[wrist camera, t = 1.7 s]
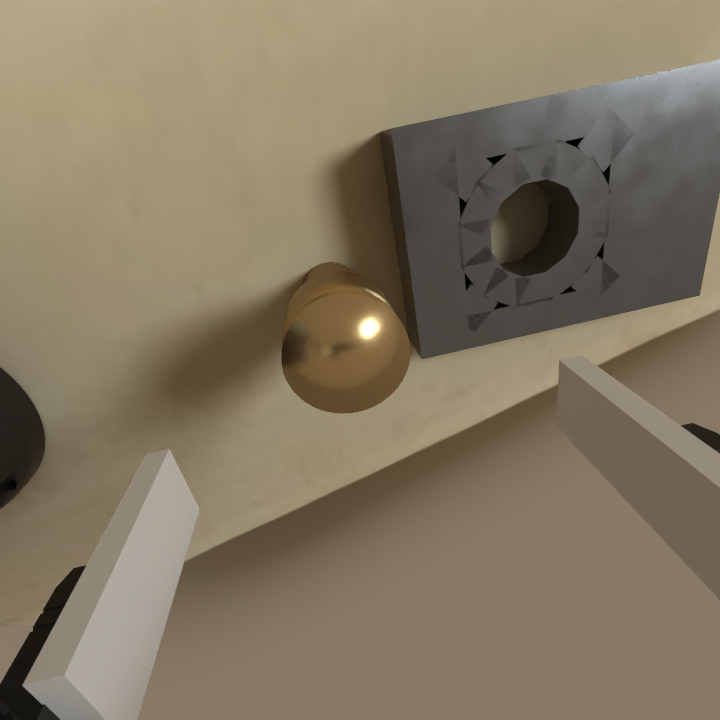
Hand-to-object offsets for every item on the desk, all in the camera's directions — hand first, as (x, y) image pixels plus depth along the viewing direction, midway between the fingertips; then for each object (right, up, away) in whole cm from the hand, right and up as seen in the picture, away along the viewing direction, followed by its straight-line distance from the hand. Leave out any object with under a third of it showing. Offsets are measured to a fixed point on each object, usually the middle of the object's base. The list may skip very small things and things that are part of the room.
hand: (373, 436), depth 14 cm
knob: (-3, +7, +15) cm, 17 cm away
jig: (+12, +12, +15) cm, 23 cm away
